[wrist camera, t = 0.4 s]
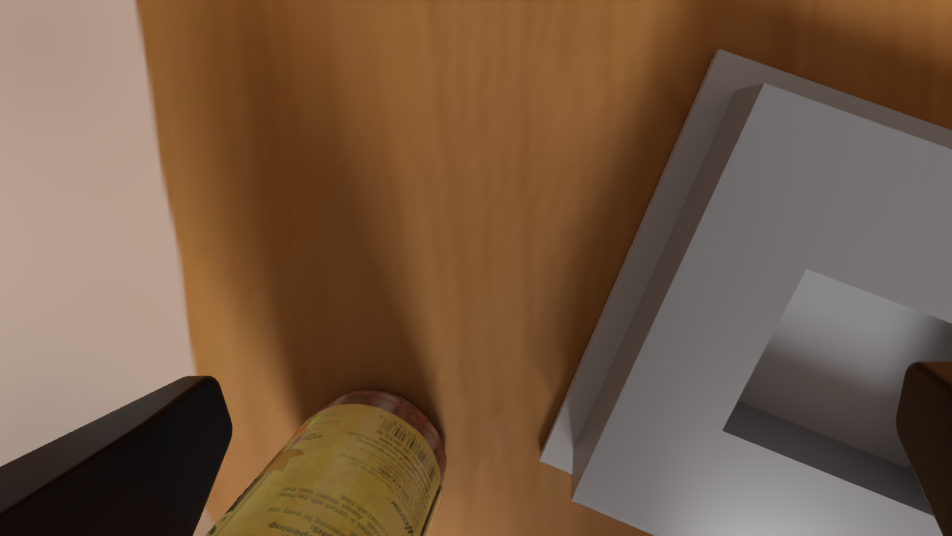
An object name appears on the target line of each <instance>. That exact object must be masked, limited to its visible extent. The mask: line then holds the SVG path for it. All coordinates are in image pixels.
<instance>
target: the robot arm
mask: <svg viewBox="0 0 952 536" xmlns="http://www.w3.org/2000/svg"><path fill="white" fill-rule="evenodd" d="M896 430H897V434H898V437H899V440H900V442H901V444H902V446H903V449H904V451H905V453H906V455H907V457H908V460H909V462H910V464H911V466H912V469H913V471H914V473H915V475H916V477H917V480H918V482H919V484H920V486H921V489H922V491H923V493H924V495H925V497H926V500H927V502H928V504H929V506H930V508H931V511H932V513H933V515H934V517H935V520H936V522H937V524H938V526H939V528H940V531H941V533H942V535H943V536H952V362H951V361H917V362H914V363H912V364H910V365H909V366H908V368H907V369H906V372H905V375H904V380H903V385H902V389H901V394H900V399H899V404H898V408H897V413H896ZM231 437H232V422H231V418H230V415H229V412H228V409H227V406H226V403H225V400H224V397H223V393H222V390H221V387H220V385H219V382H218V381H217V380H216V379H215V378H214V377H212V376H186V377H183V378H180V379H178V380H176V381H174V382H172V383H170V384H168V385H166V386H164V387H162V388H160V389H158V390H156V391H154V392H152V393H150V394H148V395H146V396H144V397H142V398H140V399H138V400H135V401H133V402H131V403H129V404H127V405H125V406H123V407H121V408H120V409H117V410H115V411H113V412H111V413H109V414H107V415H105V416H103V417H101V418H99V419H97V420H95V421H93V422H91V423H89V424H87V425H84V426H82V427H80V428H78V429H76V430H74V431H73V432H70V433H68V434H66V435H64V436H62V437H60V438H58V439H56V440H54V441H52V442H50V443H48V444H46V445H44V446H42V447H40V448H38V449H36V450H34V451H32V452H29V453H27V454H25V455H23V456H21V457H19V458H17V459H15V460H13V461H11V462H9V463H7V464H5V465H3V466H1V467H0V536H193V534H194V531H195V529H196V527H197V524H198V522H199V520H200V517H201V515H202V512H203V510H204V507H205V505H206V502H207V499H208V497H209V494H210V492H211V489H212V487H213V484H214V482H215V479H216V477H217V474H218V471H219V469H220V466H221V464H222V461H223V459H224V456H225V454H226V451H227V449H228V446H229V443H230V441H231Z"/></svg>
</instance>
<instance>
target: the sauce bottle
mask: <svg viewBox="0 0 952 536" xmlns="http://www.w3.org/2000/svg"><path fill="white" fill-rule="evenodd" d="M445 469H446V454H445V451H444V446H443V443H442V440H441V438H440V436H439V434H438V432H437V430H436V429H435V428H434V427H433V426H432V424H431V423H430V421H429V419H428V418H427V417H426V415H425V414H424V413H423V412H421V411H420V409H418V408H417V407H416V406H415V405H413V404H412V403H410V402H408V401H407V400H406V399H404V398H402V397H400V396H396V395H392V394H390V393H387V392H385V391H373V390H359V391H354V392H351V393H347V394H344V395H342V396H340V397H339V398H337V399H335V400H334V401H333V402H331V403H329V404H327V405H325V406H324V407H323V408H322V409H321V410H320V411H319V412H318V413H317V414H315V415H313V416H312V417H310V418H309V419H307V420H306V421H305V422H304V423H303V425H302V426H301V427H300V428H299V429H298V430H297V431H296V433H295V434H294V435H293V436H292V438H291V439H290V440H289V441H288V442H287V443H286V444H285V445H284V446H283V448H282V449H281V450H280V451H279V452H278V453H277V455H276V456H275V457H274V458H273V459H272V461H271V462H270V463H269V464H268V465H267V466H266V468H265V469H264V470H263V471H262V472H261V473H260V474H259V476H258V477H257V478H256V479H255V480H254V481H253V482H252V483H251V485H250V486H249V487H248V488H247V489H246V490H245V491H244V492H243V494H242V495H240V496H239V498H238V499H237V501H236V502H235V503H234V504H233V505H232V506H231V507H230V508H229V510H228V511H227V512H226V514H225V515H224V516H223V517H222V518H220V520H219V521H218V522H217V523H216V524H215V525H214V526H213V528H212V529H211V530H210V531H209V532H208V533H207V535H206V536H428V533H429V530H430V527H431V525H432V522H433V519H434V516H435V514H436V511H437V508H438V505H439V502H440V499H441V495H442V488H443V487H442V482H443V480H444V472H445Z"/></svg>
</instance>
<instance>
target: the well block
mask: <svg viewBox="0 0 952 536" xmlns="http://www.w3.org/2000/svg"><path fill="white" fill-rule="evenodd" d="M917 361H951V362H952V130H949V129H946V128H944V127H941V126H938V125H935V124H932V123H929V122H927V121H924V120H921V119H918V118H915V117H912V116H909V115H907V114H904V113H901V112H898V111H895V110H892V109H890V108H887V107H884V106H881V105H878V104H875V103H872V102H870V101H867V100H864V99H861V98H858V97H855V96H853V95H850V94H847V93H844V92H841V91H838V90H836V89H833V88H830V87H827V86H824V85H821V84H818V83H816V82H813V81H810V80H807V79H804V78H801V77H799V76H796V75H793V74H790V73H787V72H784V71H781V70H779V69H776V68H773V67H770V66H767V65H764V64H762V63H759V62H756V61H753V60H750V59H747V58H744V57H742V56H739V55H736V54H733V53H730V52H727V51H725V50H722V49H718V50H717V51H716V52H715V54H714V56H713V59H712V61H711V63H710V66H709V68H708V70H707V73H706V75H705V77H704V79H703V82H702V84H701V86H700V89H699V91H698V93H697V95H696V98H695V100H694V102H693V105H692V107H691V109H690V112H689V114H688V116H687V118H686V121H685V123H684V125H683V128H682V130H681V132H680V134H679V137H678V139H677V141H676V144H675V146H674V148H673V150H672V153H671V155H670V157H669V160H668V162H667V164H666V167H665V169H664V171H663V173H662V176H661V178H660V180H659V183H658V185H657V187H656V189H655V192H654V194H653V196H652V199H651V201H650V203H649V205H648V208H647V210H646V212H645V215H644V217H643V219H642V222H641V224H640V226H639V228H638V231H637V233H636V235H635V238H634V240H633V242H632V244H631V247H630V249H629V251H628V254H627V256H626V258H625V261H624V263H623V265H622V267H621V270H620V272H619V274H618V277H617V279H616V281H615V283H614V286H613V288H612V290H611V293H610V295H609V297H608V299H607V302H606V304H605V306H604V309H603V311H602V313H601V316H600V318H599V320H598V322H597V325H596V327H595V329H594V332H593V334H592V336H591V338H590V341H589V343H588V345H587V348H586V350H585V352H584V354H583V357H582V359H581V361H580V364H579V366H578V368H577V371H576V373H575V375H574V377H573V380H572V382H571V384H570V387H569V389H568V391H567V393H566V396H565V398H564V400H563V403H562V405H561V407H560V410H559V412H558V414H557V416H556V419H555V421H554V423H553V426H552V428H551V430H550V432H549V435H548V437H547V439H546V442H545V444H544V446H543V448H542V451H541V453H540V460H539V461H541V462H543V463H546V464H548V465H551V466H553V467H555V468H558V469H560V470H562V471H565V472H567V473H570V474H572V491H571V501H573V502H576V503H578V504H581V505H583V506H585V507H588V508H590V509H592V510H595V511H597V512H599V513H602V514H604V515H607V516H609V517H611V518H614V519H616V520H618V521H621V522H623V523H626V524H628V525H630V526H633V527H635V528H637V529H640V530H642V531H644V532H647V533H649V534H652V535H654V536H943V535H942V533H941V531H940V528H939V526H938V524H937V522H936V520H935V517H934V515H933V513H932V511H931V508H930V506H929V504H928V502H927V500H926V497H925V495H924V493H923V491H922V489H921V486H920V484H919V482H918V480H917V477H916V475H915V473H914V471H913V469H912V466H911V464H910V462H909V460H908V457H907V455H906V453H905V451H904V449H903V446H902V444H901V442H900V440H899V437H898V434H897V430H896V413H897V408H898V404H899V399H900V394H901V389H902V385H903V380H904V375H905V372H906V369H907V368H908V366H909V365H910V364H912V363H914V362H917Z"/></svg>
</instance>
